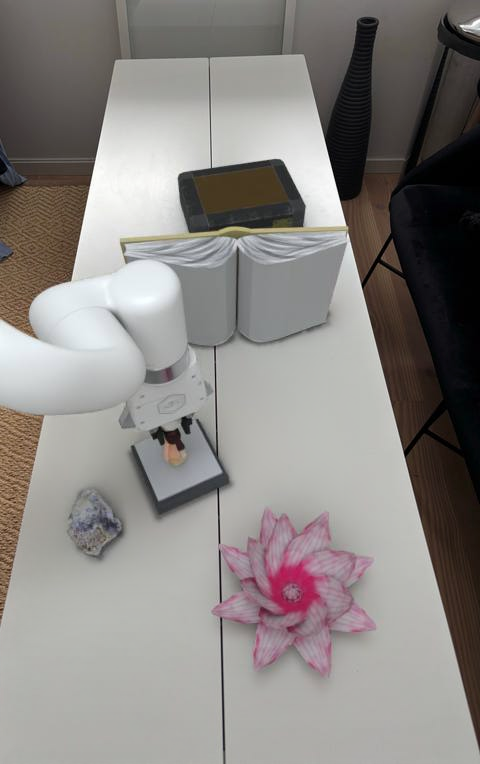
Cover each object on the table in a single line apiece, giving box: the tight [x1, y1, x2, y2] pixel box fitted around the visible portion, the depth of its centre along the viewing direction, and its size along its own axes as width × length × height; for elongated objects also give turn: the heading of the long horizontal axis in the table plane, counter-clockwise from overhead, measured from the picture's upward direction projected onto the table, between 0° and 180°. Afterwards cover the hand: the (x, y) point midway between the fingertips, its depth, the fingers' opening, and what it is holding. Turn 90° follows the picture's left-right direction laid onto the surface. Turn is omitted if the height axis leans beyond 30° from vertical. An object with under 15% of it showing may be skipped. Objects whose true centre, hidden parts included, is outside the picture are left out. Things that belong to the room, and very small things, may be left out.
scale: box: [130, 418, 230, 516], centre depth 88 cm, size 12×12×3 cm
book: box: [119, 225, 350, 347], centre depth 96 cm, size 36×8×24 cm, turn 95°
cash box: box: [177, 158, 307, 233], centre depth 123 cm, size 25×20×8 cm
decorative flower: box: [210, 505, 378, 679], centre depth 72 cm, size 21×21×15 cm
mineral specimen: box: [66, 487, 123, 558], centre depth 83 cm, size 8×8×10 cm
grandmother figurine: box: [161, 418, 187, 466], centre depth 81 cm, size 8×4×13 cm, turn 40°
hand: (171, 431), depth 80 cm, fingers closed on grandmother figurine, 3 cm apart
